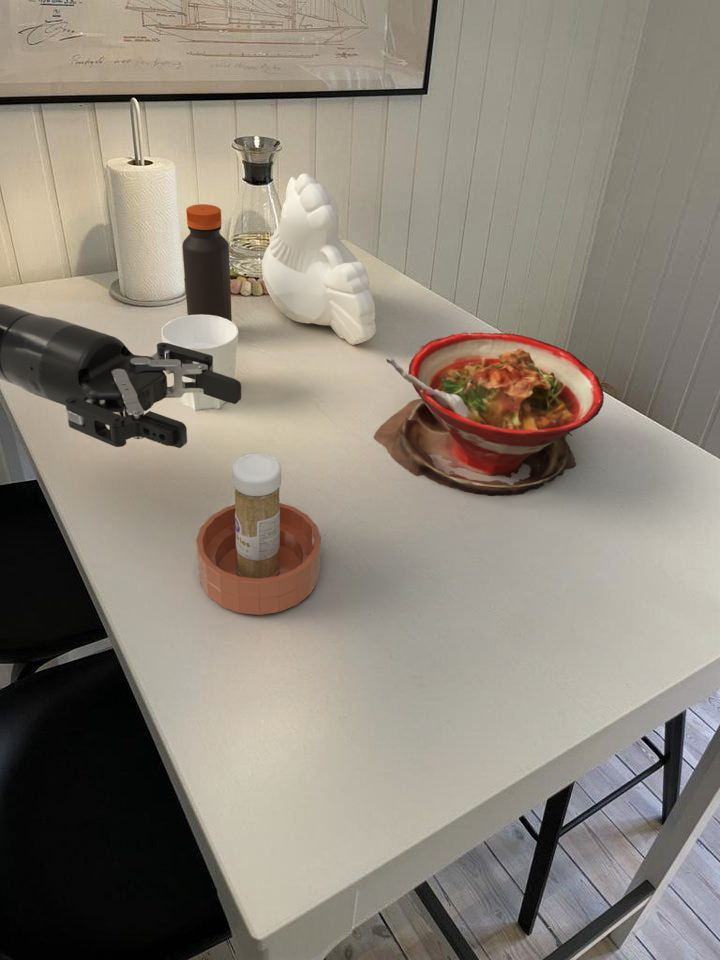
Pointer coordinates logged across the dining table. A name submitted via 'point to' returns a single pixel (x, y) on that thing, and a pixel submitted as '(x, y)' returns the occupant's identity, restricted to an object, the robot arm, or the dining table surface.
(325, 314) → the decorative rooster
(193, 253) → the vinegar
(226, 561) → the bowl
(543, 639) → the dining table surface
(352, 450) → the dining table surface
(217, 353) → the cup
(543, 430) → the stew
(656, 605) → the dining table surface
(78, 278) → the dining table surface
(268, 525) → the sprinkles bottle
